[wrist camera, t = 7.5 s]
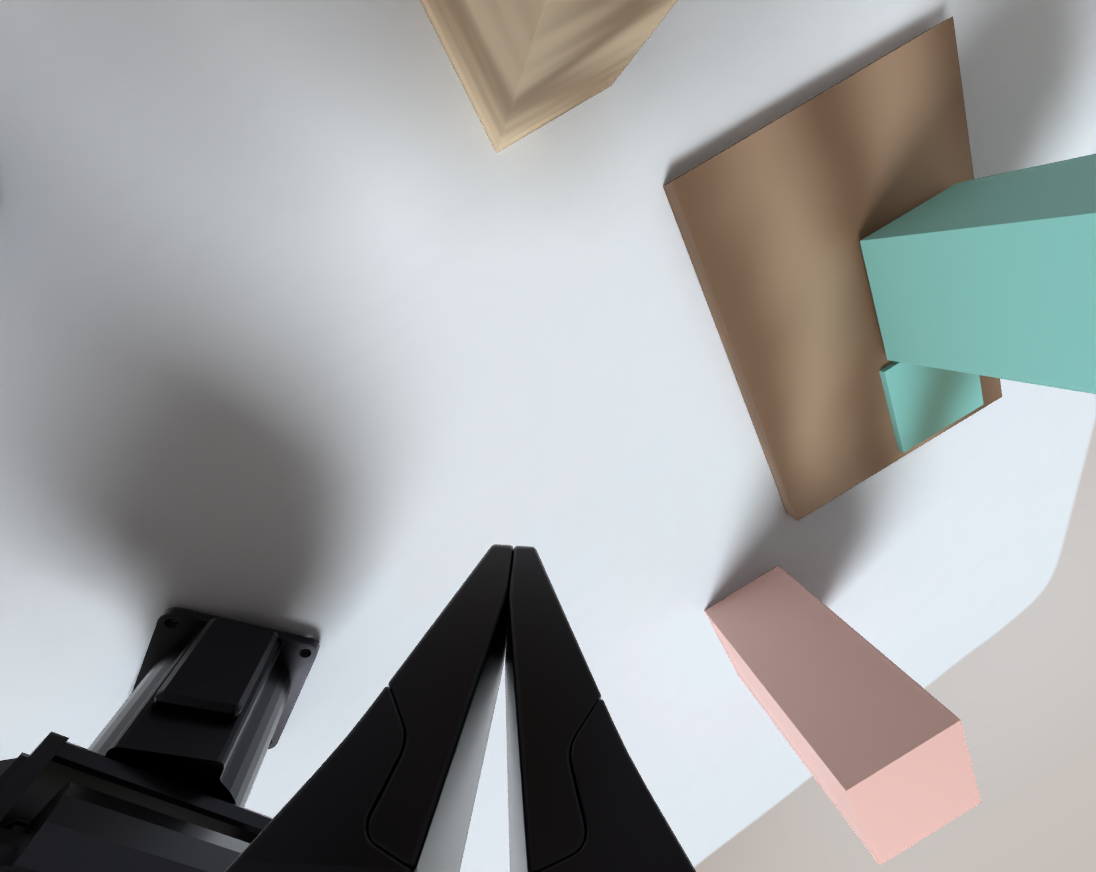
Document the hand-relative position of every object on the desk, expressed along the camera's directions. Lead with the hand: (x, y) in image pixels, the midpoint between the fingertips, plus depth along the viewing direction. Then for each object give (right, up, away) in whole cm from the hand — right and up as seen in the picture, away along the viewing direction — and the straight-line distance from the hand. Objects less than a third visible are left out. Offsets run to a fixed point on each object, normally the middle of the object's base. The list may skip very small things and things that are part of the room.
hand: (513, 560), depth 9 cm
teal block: (+18, +10, +12) cm, 24 cm away
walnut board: (+15, +8, +13) cm, 21 cm away
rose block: (+13, -9, +18) cm, 24 cm away
